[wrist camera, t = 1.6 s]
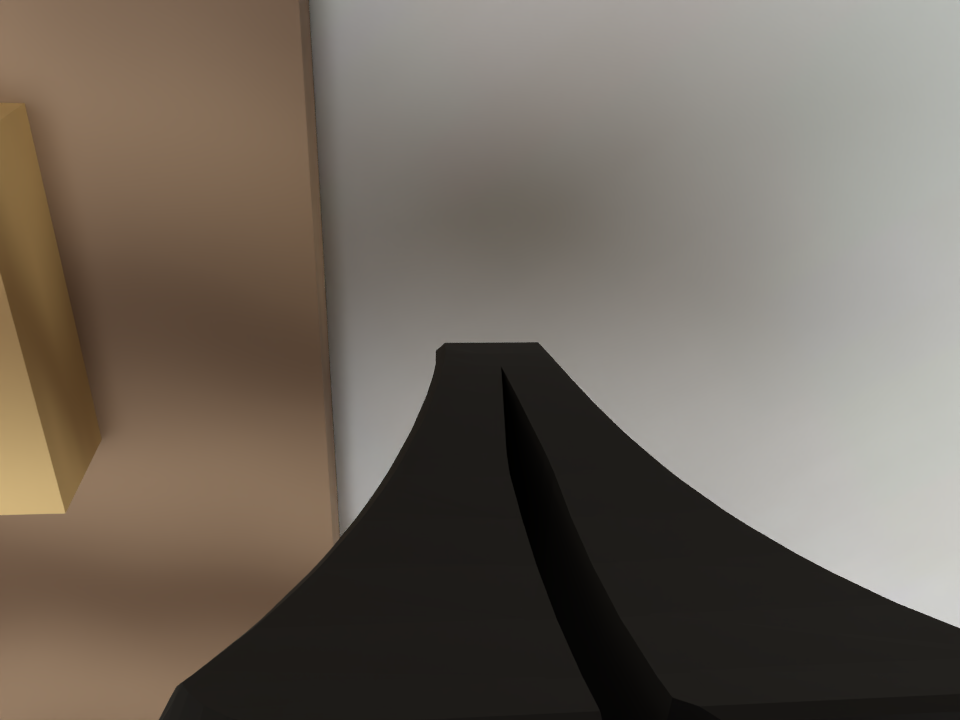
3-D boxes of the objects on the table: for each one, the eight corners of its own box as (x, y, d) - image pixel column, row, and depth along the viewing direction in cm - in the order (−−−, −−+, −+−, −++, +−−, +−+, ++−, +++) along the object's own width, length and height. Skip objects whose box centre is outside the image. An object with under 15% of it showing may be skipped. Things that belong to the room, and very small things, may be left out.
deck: (346, 662, 21) (343, 714, 20) (-81, 680, 20) (-112, 737, 19) (286, -396, 11) (271, -428, 10) (-584, -460, 10) (-727, -503, 9)
